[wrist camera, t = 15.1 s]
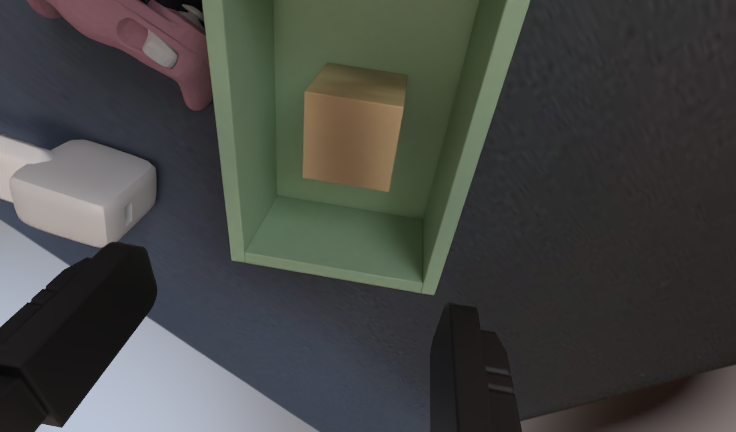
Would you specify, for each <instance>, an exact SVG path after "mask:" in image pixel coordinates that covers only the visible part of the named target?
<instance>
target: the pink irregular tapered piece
mask: <svg viewBox="0 0 736 432" xmlns="http://www.w3.org/2000/svg"><path fill="white" fill-rule="evenodd" d="M27 1H28V3H29V4H30V6H31V7H32V8H33V9H34V10H35V11H36V12H38V13H39V14H41V15H42V16H44V17H46V18H60V17H63V18H64V19H65V20H67V21H68V22H69V23H70V24H71V25H72V26H73V27H74V28H75V29H77V30H78V31H79V32H81V33H82V34H84V35H85V36H87V37H88V38H91V39H93V40H96V41H98V42H100V43H103V44H106V45H109V46H112V47H115V48H119V49H121V50H123V51H124V52H126V53H128V54H130V55H131V56H133V57H134V58H136V59H138V60H139V61H141V62H143V63H144V64H146V65H148V66H149V67H151V68H153V69H155V70H157V71H159V72H161V73H163V74H165V75H167V76H169V77H170V78H172V79H174V80H175V81H176V82H177V83H178V84H179V86H180V88H181V90H182V94H183V98H184V101H185V104H186V105H187V106H188V107H189V108H190V109H192V110H194V111H200V110H202V109H203V108H205V107H207V106H208V105H209V104H210V103H211V102H212V100H213V93H212V84H211V76H210V67H209V58H208V49H207V41H206V32H205V30H204V28H203V26H202V24H201V23H200V21H199V20H202V21H203V22H204V15H203V13H202V12H200V11H199V10H198V9H196V8H195V7H193V6H189V5H185V4H182V6H183V7H184V8H185V9H186V10H187V11H188V13H186V12H183V11H176V10H174V9H170V8H166V7H163V6H162V5H160V4H159V3H157V2H156V1H154V0H150V1H149V3H148V4H147V5H146V4H145V3H143V2H142V1H140V0H27Z"/></svg>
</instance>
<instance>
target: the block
mask: <svg viewBox="0 0 736 432" xmlns="http://www.w3.org/2000/svg"><path fill="white" fill-rule="evenodd" d="M407 78H408V75H405V74H398V73H392V72H386V71H379V70H373V69H367V68H360V67H354V66H348V65H341V64H335V63H329V62H328V63H326V65H325V66H324V67H323V69H322V70H321V71H320V72H319V74H318V75H317V76H316V77H315V79H314V80H313V81H312V82H311V84H310V85H309V86H308V88H307V89H306V90H305V91H304V121H303V164H302V177H303V178H306V179H312V180H318V181H324V182H331V183H337V184H343V185H349V186H355V187H361V188H367V189H373V190H379V191H385V192H389V189H390V183H391V177H392V172H393V166H394V161H395V155H396V150H397V144H398V139H399V133H400V127H401V122H402V116H403V111H404V104H405V95H406V86H407Z"/></svg>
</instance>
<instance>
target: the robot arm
mask: <svg viewBox="0 0 736 432" xmlns="http://www.w3.org/2000/svg"><path fill="white" fill-rule="evenodd" d="M156 296H157V285H156V281H155V278H154V274H153V270H152V267H151V263H150V260H149V256H148V253H147V250H146V249H145V248H144V247H141V246H135V245H130V244H124V243H119V242H111V243H108V244H107V245H106V246H104V247H103V248H102V249H101V250H100V251H99V252H98V253H97V254H96V255H95V256H94V257H93V258H85V259H83V260H81V261H80V262H78V263H76V264H74V265H72V266H70V267H68V268H67V269H65V270H63V271H62V272H61V273H60V274H59V275H58V276H57V277H56V278H54V279H53V280H52V281H51V282H50V283H49V284H48V285H47V286H46V289H42V290H41V291H40V292H39V293H38V294H37V295H36V296H34V297H33V298H32V301H31V302H30V303H27V304H26V305H25V306H23V308H21V309H20V310H19V311H18V312H17V313H16V314H15V315H14V316H12V317H11V318H10V319H9V320H8V321H7V322H6V323H5V324H3V325H2V326H1V327H0V432H35V431H36V429H37V428H38V427H39V426H40V425H41V424H46V425H51V426H57V427H61V428H62V427H63V426H64V424H65V423H66V422H67V420H68V419H69V418H70V416H71V415H72V414H73V412H74V411H75V410H76V408H77V407H78V406H79V404H80V403H81V402H82V400H83V399H84V398H85V396H86V395H87V394H88V392H89V391H90V390H91V388H92V387H93V386H94V384H95V383H96V382H97V380H98V379H99V378H100V376H101V375H102V374H103V372H104V371H105V370H106V368H107V367H108V366H109V364H110V363H111V362H112V360H113V359H114V358H115V356H116V355H117V354H118V352H119V351H120V350H121V348H122V347H123V346H124V345H125V343H126V342H127V341H128V339H129V338H130V336H131V335H132V334H133V333H134V331H135V330H136V329H137V327H138V326H139V324H140V323H141V322H142V321H143V319H144V318H145V317H146V315H147V314H148V313H149V311H150V310H151V308H152V307H153V305H154V303H155V300H156ZM513 391H514V388H513V383H512V378H511V376H510V367H509V362H508V357H507V352H506V350H505V348H504V347H503V345H502V343H501V342H500V340H499V339H498V337H497V335H496V334H495V332H490V331H485V330H480V322H479V315H478V311H477V308H476V307H471V306H465V305H460V304H454V303H448V302H447V303H446V304H445V307H444V309H443V312H442V315H441V318H440V321H439V323H438V326H437V329H436V332H435V335H434V338H433V341H432V346H431V354H430V424H431V432H522V429H521V424H520V419H519V414H518V409H517V403H516V398H515V394H514V393H513Z"/></svg>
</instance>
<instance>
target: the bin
mask: <svg viewBox="0 0 736 432" xmlns="http://www.w3.org/2000/svg"><path fill="white" fill-rule="evenodd" d="M529 3H530V0H202V6H203V15H204V23H205V32H206V41H207V49H208V58H209V67H210V76H211V84H212V93H213V102H214V110H215V119H216V128H217V137H218V145H219V154H220V163H221V172H222V180H223V189H224V198H225V206H226V215H227V224H228V233H229V241H230V250H231V259H232V260H233V261H239V262H246V263H250V264H256V265H262V266H267V267H273V268H279V269H285V270H290V271H296V272H302V273H308V274H314V275H319V276H325V277H331V278H337V279H342V280H348V281H354V282H360V283H366V284H371V285H377V286H383V287H389V288H394V289H400V290H406V291H412V292H418V293H420V292H421V293H424V294H429V295H434V294H435V291H436V288H437V285H438V282H439V279H440V276H441V273H442V270H443V267H444V264H445V261H446V258H447V255H448V252H449V248H450V245H451V242H452V239H453V236H454V233H455V230H456V227H457V224H458V221H459V218H460V215H461V212H462V209H463V206H464V202H465V199H466V196H467V193H468V190H469V187H470V184H471V181H472V178H473V175H474V172H475V169H476V166H477V163H478V159H479V156H480V153H481V150H482V147H483V144H484V141H485V138H486V135H487V132H488V129H489V126H490V123H491V120H492V116H493V113H494V110H495V107H496V104H497V101H498V98H499V95H500V92H501V89H502V86H503V83H504V80H505V77H506V73H507V70H508V67H509V64H510V61H511V58H512V55H513V52H514V49H515V46H516V43H517V40H518V37H519V34H520V31H521V27H522V24H523V21H524V18H525V15H526V12H527V9H528V6H529ZM328 62H329V63H335V64H341V65H348V66H354V67H360V68H367V69H373V70H379V71H386V72H392V73H398V74H405V75H408V78H407V86H406V95H405V104H404V111H403V116H402V122H401V127H400V133H399V139H398V144H397V150H396V155H395V161H394V166H393V172H392V177H391V183H390V189H389V192H385V191H379V190H373V189H367V188H361V187H355V186H349V185H343V184H337V183H331V182H324V181H318V180H312V179H306V178H303V177H302V164H303V121H304V91H305V90H306V89H307V88H308V86H309V85H310V84H311V82H312V81H313V80H314V79H315V77H316V76H317V75H318V74H319V72H320V71H321V70H322V69H323V67H324V66H325V65H326V63H328Z"/></svg>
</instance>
